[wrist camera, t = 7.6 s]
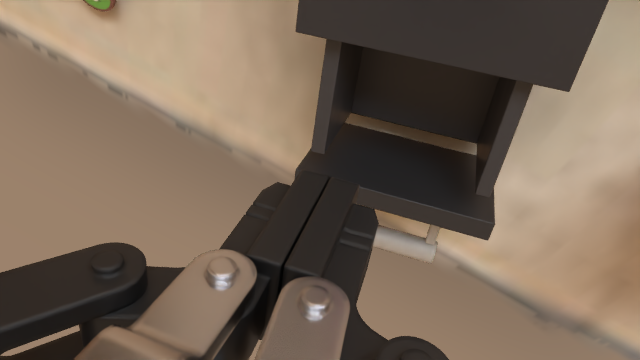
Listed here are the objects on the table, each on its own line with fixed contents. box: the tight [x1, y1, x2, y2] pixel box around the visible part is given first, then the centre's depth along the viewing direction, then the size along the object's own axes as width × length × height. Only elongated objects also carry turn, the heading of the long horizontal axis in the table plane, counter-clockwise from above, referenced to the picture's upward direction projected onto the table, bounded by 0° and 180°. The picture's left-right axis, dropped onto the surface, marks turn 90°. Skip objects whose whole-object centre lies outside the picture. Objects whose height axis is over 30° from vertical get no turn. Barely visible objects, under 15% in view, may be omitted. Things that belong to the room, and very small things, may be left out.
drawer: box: [295, 39, 533, 264], centre depth 28 cm, size 19×11×8 cm, turn 172°
